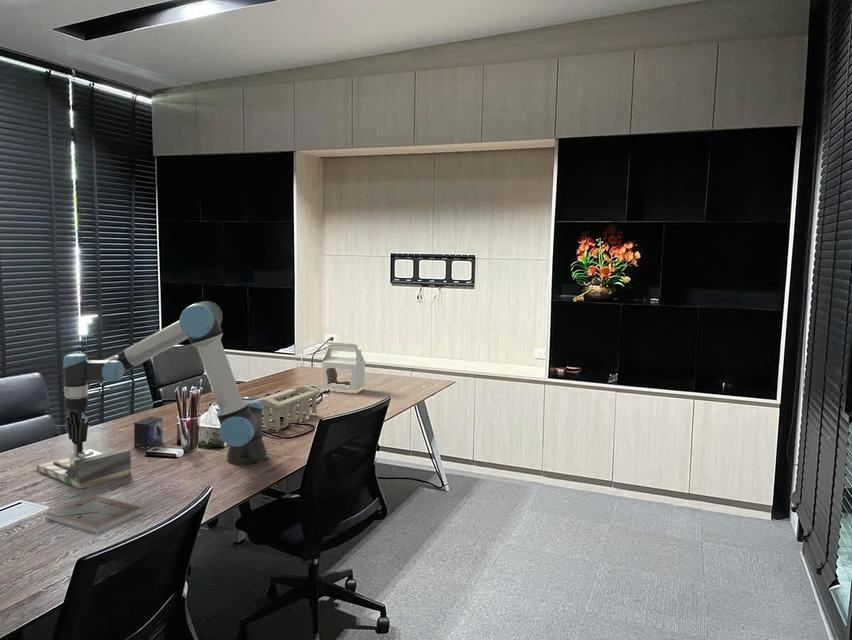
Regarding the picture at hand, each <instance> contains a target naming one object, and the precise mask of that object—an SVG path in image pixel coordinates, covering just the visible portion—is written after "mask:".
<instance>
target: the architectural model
mask: <svg viewBox="0 0 852 640" xmlns="http://www.w3.org/2000/svg"><path fill="white" fill-rule="evenodd" d="M299 393H300V394H299ZM319 394H321V390H320V389H318V388H315V387H313V386H311V385H307V384H305V385H299V386H294V387H290V388H288V389H284V390H282V391H279V392H275V393H272V394H269V395H266V396H264V397H260V398H256V399H253V400H252V401H259V402H261V403H262V407H263V424H265V425H264V426H265V427H264V430H265V429H271V420H275V422H274V423H275V424H274V431H275V430H280V431H281V419H280V417H283V418H284V419H283V426H284V427H285V426H288V427H289V416H288V414H290V415H291V416H290V424H291V423H295V422H296V411H297V412H298V413H297V414H298V417H297V418H298V419H299V420H301V419H303V420H304V418H303V416H304V417H305V416H311V415H310V409H311V414H312V413H316V414H317V399H318V398H317V397H318V395H319ZM292 395H293V396H292ZM285 398H286V399H285ZM310 400H311V401H310ZM310 404H311V405H310ZM310 406H311V407H310ZM303 412H305V415H303Z"/></svg>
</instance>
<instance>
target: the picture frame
mask: <svg viewBox="0 0 852 640" xmlns="http://www.w3.org/2000/svg"><path fill="white" fill-rule="evenodd" d="M142 512H143V513H144V507H143V506H140V505H136V504H131V503H127V502H123V501H119V500H116V499H111V498H108V497H105V496H100V495H98V494H97V495H96V494H94V495H91V496H88V497H86V498H83V499H80V500H78V501H76V502H73V503H70V504H67V505H65V506H62V507H59V508H56V509H53V510H50V511H48V512H46V519H47V518H48V520H51V521H54V520H55V521H56V522H58V523H61V524H64V523H65V524H64V525H67V524H68V526H71V525H72V527H74V526H76V527H75V528H77V527H79V528H78V529H81V528H82V529H81V530H84V529H86V530H85V531H87V530H89V531H88V532H91V531H93V532H92V533H94V532H96V533H95V534H99V533H102V532H103V531H105V529H106V530H107V528H108V529H110V528H112V527H114V526H113V525H115V526H116V524H117V525H119V524H121V523H123V522H125V520H126V521H128V520H130V519H133V518H135V517H137V516H139V515H141V514H143V513H142ZM140 513H141V514H140ZM138 514H139V515H138ZM136 515H137V516H136ZM134 516H135V517H134ZM127 519H128V520H127ZM55 521H54V522H55ZM122 521H123V522H122ZM120 522H121V523H120ZM118 523H119V524H118ZM109 527H110V528H109ZM98 532H99V533H98Z"/></svg>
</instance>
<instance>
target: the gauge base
mask: <svg viewBox="0 0 852 640" xmlns="http://www.w3.org/2000/svg"><path fill="white" fill-rule="evenodd" d="M101 453H102V452H101ZM131 456H132V455H131V449H128V448H125V447H122V448H118V449H115V450H111V451H107V452H104V453H102V454H99V455H95V456H91V457H87V458H83V459H79V460H75V461H74V473H75V479H73V478H71V477H68V474H66V471H68V468H69V467H70V455H69V456H65V457H62V458H58V459H54V460H53V459H52V460H49V461H46V462H42V463H38V464H36V471H39V472H41V473H43V474H45V475H46V476H49V477H52V478H54V479H57V480H59V481H61V482H64V483H65V484H68V485H70V486H73V487H75V486H76V488H78V489H80V488H81V489H80V490H82V488H83V489H85V487H86V488H89V487H88V486H90V487H93V486H96V485H99V484H98V483H100V484H103V483H105V481H107V482H110V481H113V480H116V479H115V478H117V479H119V478H118V477H120V478H122V477H121V476H123V477H126V476H125V475H127V474H130V475H132V461H131V460H132V458H131ZM127 476H128V475H127ZM112 479H113V480H112ZM109 480H110V481H109ZM102 482H103V483H102ZM95 484H96V485H95ZM92 485H93V486H92Z"/></svg>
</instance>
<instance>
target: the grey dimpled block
mask: <svg viewBox="0 0 852 640" xmlns="http://www.w3.org/2000/svg"><path fill="white" fill-rule="evenodd" d="M99 454H102V452H99V451H97V450H95V449H91V448H90V449H85V450H83V451H81V452H77V453H73V452H72V453H70V454H69V456H70V467H73V466H74V461H75V460H79V459H83V458H87V457H91V456H95V455H99ZM66 474H68V471H66Z"/></svg>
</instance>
